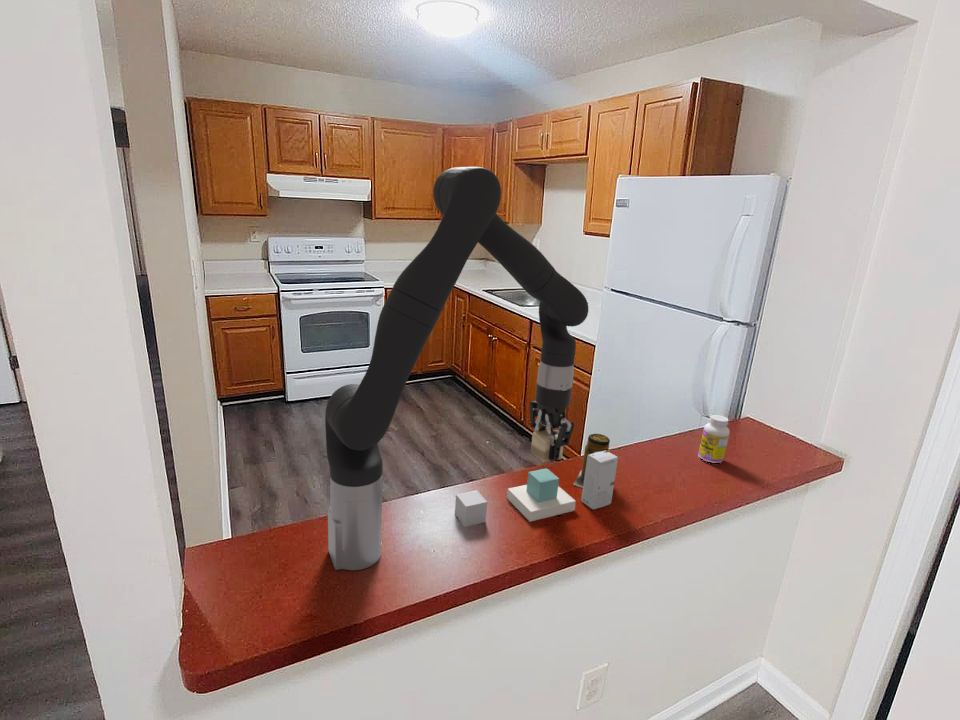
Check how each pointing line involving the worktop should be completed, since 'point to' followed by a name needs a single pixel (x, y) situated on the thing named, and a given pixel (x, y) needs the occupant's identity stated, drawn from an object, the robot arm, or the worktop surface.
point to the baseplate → (540, 503)
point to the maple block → (543, 445)
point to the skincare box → (599, 479)
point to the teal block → (542, 485)
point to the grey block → (470, 508)
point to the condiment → (593, 445)
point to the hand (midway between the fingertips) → (546, 453)
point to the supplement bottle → (714, 439)
